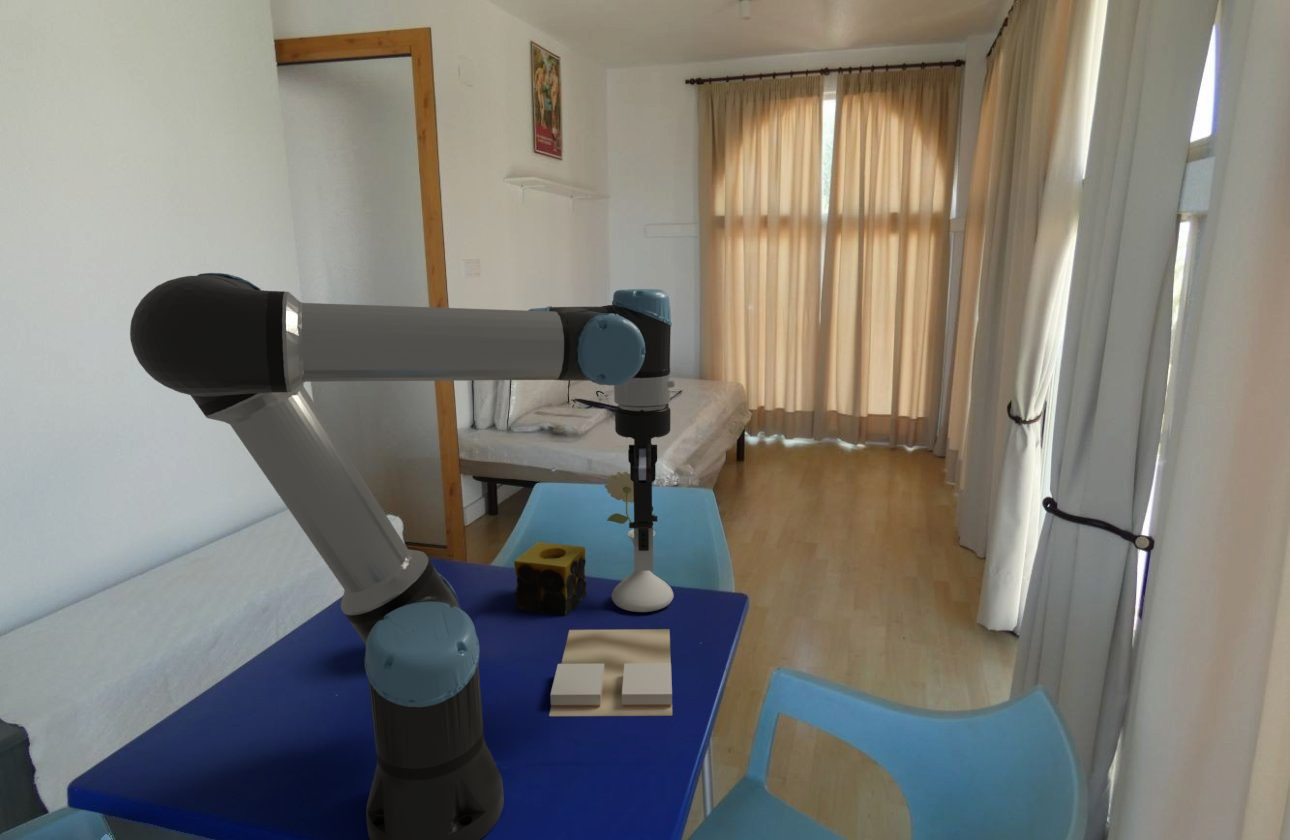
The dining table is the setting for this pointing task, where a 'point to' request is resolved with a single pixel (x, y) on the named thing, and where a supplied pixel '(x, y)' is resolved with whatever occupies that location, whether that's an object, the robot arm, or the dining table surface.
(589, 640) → the board
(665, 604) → the flower in vase
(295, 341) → the robot arm
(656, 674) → the tile
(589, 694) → the tile
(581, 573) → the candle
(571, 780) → the dining table surface
